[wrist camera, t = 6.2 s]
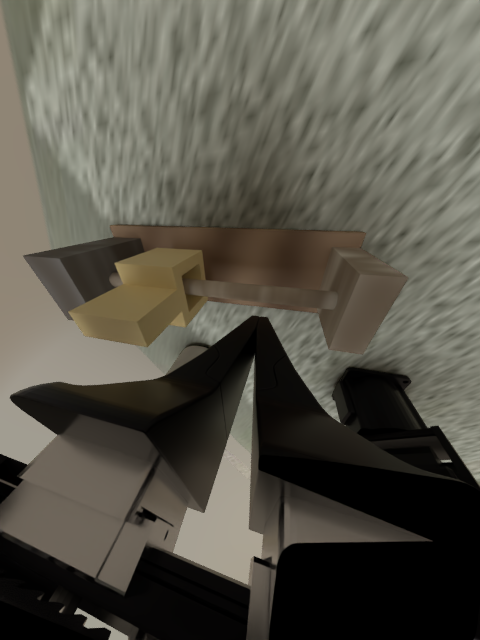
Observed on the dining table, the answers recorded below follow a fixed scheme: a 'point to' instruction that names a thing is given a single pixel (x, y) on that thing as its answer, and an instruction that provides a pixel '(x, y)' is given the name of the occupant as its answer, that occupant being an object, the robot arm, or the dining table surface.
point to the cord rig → (244, 273)
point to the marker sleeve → (145, 298)
